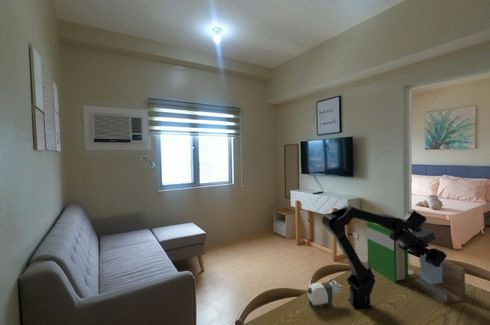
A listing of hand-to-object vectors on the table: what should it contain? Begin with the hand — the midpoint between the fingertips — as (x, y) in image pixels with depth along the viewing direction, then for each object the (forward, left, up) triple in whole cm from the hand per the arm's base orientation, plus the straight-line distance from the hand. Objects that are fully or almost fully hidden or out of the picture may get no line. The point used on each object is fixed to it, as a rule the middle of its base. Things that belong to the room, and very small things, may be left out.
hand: (433, 263), depth 101 cm
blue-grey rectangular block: (-1, 0, -7) cm, 7 cm away
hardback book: (-9, +20, -14) cm, 26 cm away
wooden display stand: (+4, +3, -14) cm, 15 cm away
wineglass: (+1, +21, -14) cm, 26 cm away
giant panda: (-47, -5, -14) cm, 49 cm away
